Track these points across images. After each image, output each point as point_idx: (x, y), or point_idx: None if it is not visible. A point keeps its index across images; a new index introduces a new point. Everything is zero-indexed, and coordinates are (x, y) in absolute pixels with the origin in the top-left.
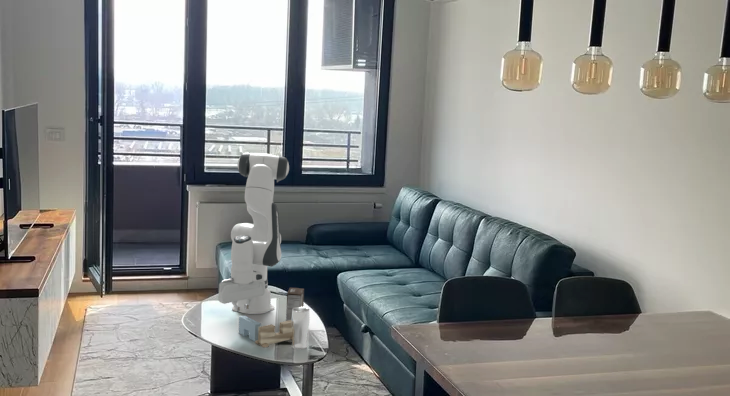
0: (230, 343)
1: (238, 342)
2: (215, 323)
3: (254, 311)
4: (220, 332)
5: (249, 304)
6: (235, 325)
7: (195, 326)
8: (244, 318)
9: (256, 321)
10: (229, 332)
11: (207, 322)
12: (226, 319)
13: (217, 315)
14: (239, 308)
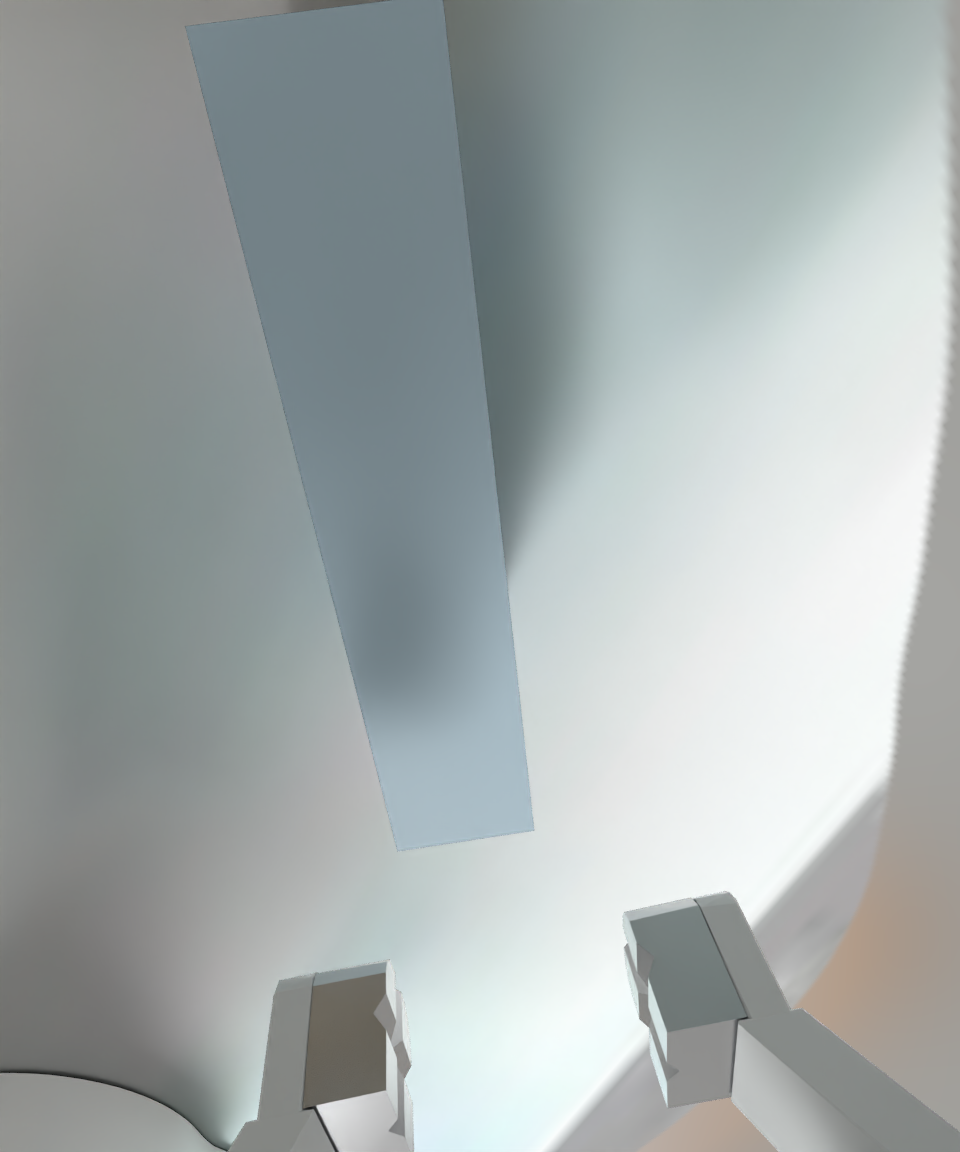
0: (871, 214)
1: (725, 195)
2: (575, 957)
3: (39, 1110)
4: (691, 720)
5: (262, 1125)
6: (399, 864)
7: (799, 937)
8: (491, 685)
9: (275, 319)
10: (591, 684)
11: (631, 992)
12: (412, 1017)
13: (446, 1101)
14: (656, 975)
